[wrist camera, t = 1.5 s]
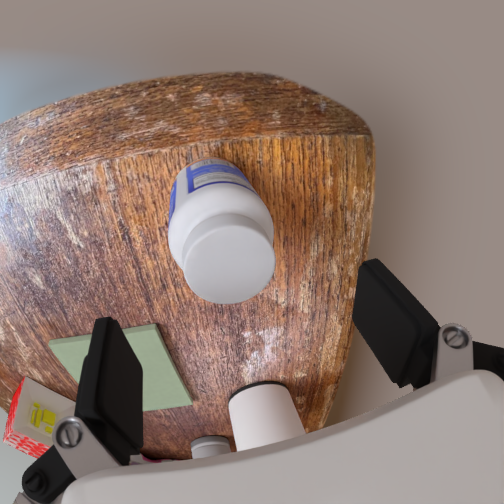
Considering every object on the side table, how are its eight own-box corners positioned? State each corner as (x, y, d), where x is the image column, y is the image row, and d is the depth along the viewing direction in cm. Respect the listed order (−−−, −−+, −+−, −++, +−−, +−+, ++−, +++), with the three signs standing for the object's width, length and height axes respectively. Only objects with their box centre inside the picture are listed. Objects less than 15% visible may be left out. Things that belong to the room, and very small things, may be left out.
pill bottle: (212, 239, 23) (235, 333, 15) (155, 198, 20) (141, 282, 12) (262, 187, 21) (316, 259, 13) (206, 138, 19) (227, 183, 11)
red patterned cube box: (77, 403, 30) (72, 455, 24) (59, 419, 32) (54, 465, 25) (24, 375, 26) (11, 428, 20) (12, 395, 28) (2, 441, 21)
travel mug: (237, 437, 42) (266, 545, 25) (213, 450, 44) (236, 550, 27) (205, 431, 39) (231, 551, 22) (183, 445, 41) (202, 553, 24)
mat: (49, 339, 24) (48, 345, 24) (155, 322, 26) (155, 329, 25) (106, 409, 32) (106, 414, 31) (192, 399, 33) (193, 404, 33)
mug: (219, 387, 33) (236, 464, 24) (291, 371, 34) (320, 443, 26) (230, 424, 39) (245, 485, 30) (289, 410, 40) (310, 469, 32)
